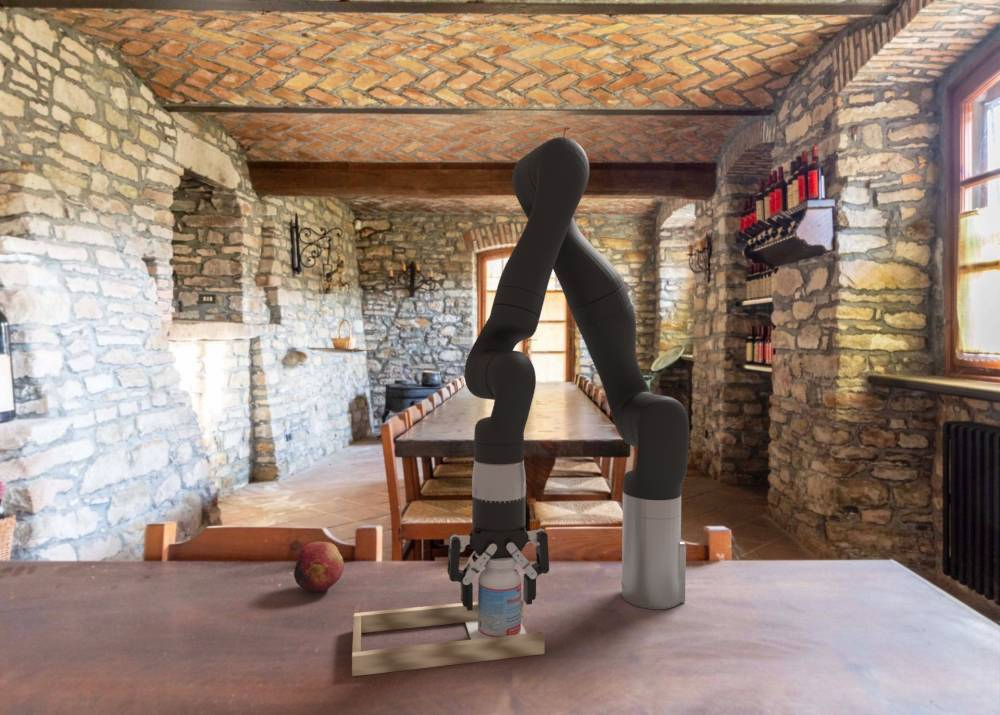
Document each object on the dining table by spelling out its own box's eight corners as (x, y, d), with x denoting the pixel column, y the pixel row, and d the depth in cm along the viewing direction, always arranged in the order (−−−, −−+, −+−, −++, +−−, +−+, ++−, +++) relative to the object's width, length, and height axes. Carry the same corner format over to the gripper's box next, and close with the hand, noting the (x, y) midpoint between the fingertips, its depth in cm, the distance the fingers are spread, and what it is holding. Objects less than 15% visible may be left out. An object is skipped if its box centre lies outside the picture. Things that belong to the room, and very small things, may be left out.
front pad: (517, 618, 89) (517, 616, 89) (534, 648, 81) (534, 646, 81) (465, 623, 88) (465, 621, 88) (476, 655, 79) (476, 653, 79)
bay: (521, 613, 91) (521, 597, 91) (544, 653, 79) (544, 635, 79) (354, 630, 86) (354, 613, 86) (352, 676, 74) (352, 656, 74)
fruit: (349, 593, 98) (349, 545, 98) (302, 605, 94) (302, 555, 93) (334, 578, 104) (333, 533, 104) (289, 588, 100) (288, 541, 100)
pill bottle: (516, 646, 81) (517, 565, 80) (473, 641, 82) (473, 561, 82) (524, 625, 87) (524, 549, 86) (483, 621, 88) (484, 546, 87)
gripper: (539, 483, 89) (539, 590, 89) (445, 487, 86) (445, 598, 86) (555, 495, 81) (554, 612, 82) (452, 501, 78) (452, 622, 79)
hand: (498, 605), depth 84 cm, fingers open, 8 cm apart
